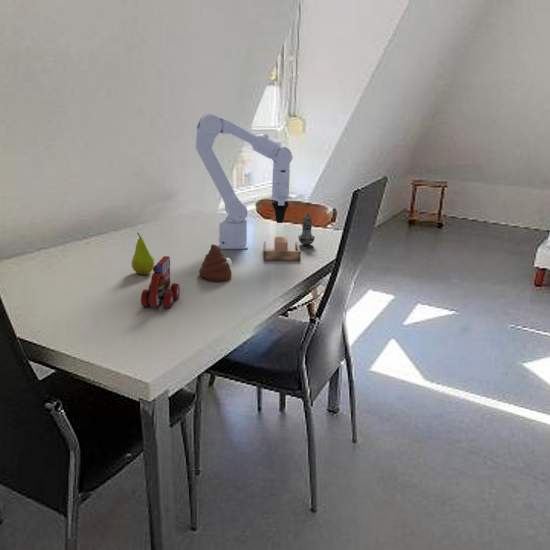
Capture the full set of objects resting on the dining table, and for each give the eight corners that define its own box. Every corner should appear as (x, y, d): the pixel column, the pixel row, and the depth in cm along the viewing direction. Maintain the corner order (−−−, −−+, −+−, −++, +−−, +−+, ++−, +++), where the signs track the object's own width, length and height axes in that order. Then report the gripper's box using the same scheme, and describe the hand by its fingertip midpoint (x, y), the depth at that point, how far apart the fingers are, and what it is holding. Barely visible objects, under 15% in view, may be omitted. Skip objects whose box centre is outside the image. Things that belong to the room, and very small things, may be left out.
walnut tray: (263, 260, 152) (264, 251, 151) (263, 250, 164) (263, 241, 163) (300, 260, 153) (300, 251, 152) (297, 250, 164) (297, 241, 163)
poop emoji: (193, 275, 137) (191, 243, 134) (217, 270, 143) (217, 239, 140) (213, 285, 130) (213, 251, 128) (238, 278, 136) (238, 246, 133)
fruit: (159, 272, 139) (157, 231, 135) (144, 278, 134) (140, 236, 130) (143, 268, 142) (140, 228, 139) (127, 274, 137) (123, 232, 133)
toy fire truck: (138, 312, 112) (135, 269, 109) (155, 293, 124) (152, 253, 121) (167, 313, 112) (165, 270, 108) (182, 294, 123) (180, 255, 120)
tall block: (274, 248, 164) (275, 254, 158) (274, 236, 163) (275, 242, 157) (286, 248, 165) (287, 254, 158) (286, 236, 163) (287, 242, 157)
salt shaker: (308, 250, 165) (310, 215, 161) (294, 247, 168) (295, 212, 164) (317, 246, 169) (319, 212, 165) (303, 243, 173) (305, 210, 169)
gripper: (294, 186, 158) (292, 227, 162) (291, 180, 171) (289, 218, 176) (272, 186, 157) (271, 227, 162) (271, 179, 171) (270, 218, 175)
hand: (279, 222), depth 169 cm, fingers closed
